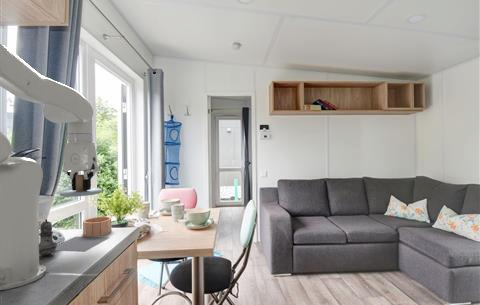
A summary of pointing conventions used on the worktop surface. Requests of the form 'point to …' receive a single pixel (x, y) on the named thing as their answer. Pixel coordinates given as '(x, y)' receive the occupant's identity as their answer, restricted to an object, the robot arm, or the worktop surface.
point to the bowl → (96, 226)
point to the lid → (80, 189)
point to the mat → (80, 243)
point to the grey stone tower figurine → (46, 241)
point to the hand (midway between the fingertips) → (81, 189)
